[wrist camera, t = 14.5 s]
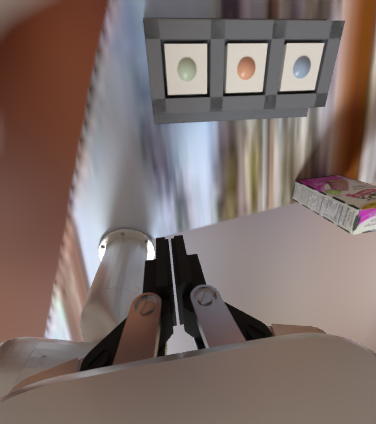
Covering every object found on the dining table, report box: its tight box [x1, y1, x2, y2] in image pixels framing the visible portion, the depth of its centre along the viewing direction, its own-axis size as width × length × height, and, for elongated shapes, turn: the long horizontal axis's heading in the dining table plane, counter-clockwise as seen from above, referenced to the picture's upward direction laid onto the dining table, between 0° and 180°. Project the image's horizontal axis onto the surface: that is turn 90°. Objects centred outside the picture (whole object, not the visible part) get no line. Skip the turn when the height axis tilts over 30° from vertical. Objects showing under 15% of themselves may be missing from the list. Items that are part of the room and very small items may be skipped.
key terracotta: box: [223, 43, 268, 95], centre depth 30 cm, size 6×6×3 cm
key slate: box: [277, 43, 324, 93], centre depth 31 cm, size 6×6×3 cm
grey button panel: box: [143, 18, 345, 124], centre depth 31 cm, size 14×29×5 cm, turn 92°
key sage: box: [164, 44, 207, 97], centre depth 30 cm, size 6×6×3 cm
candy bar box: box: [292, 175, 376, 235], centre depth 38 cm, size 11×5×16 cm, turn 95°
